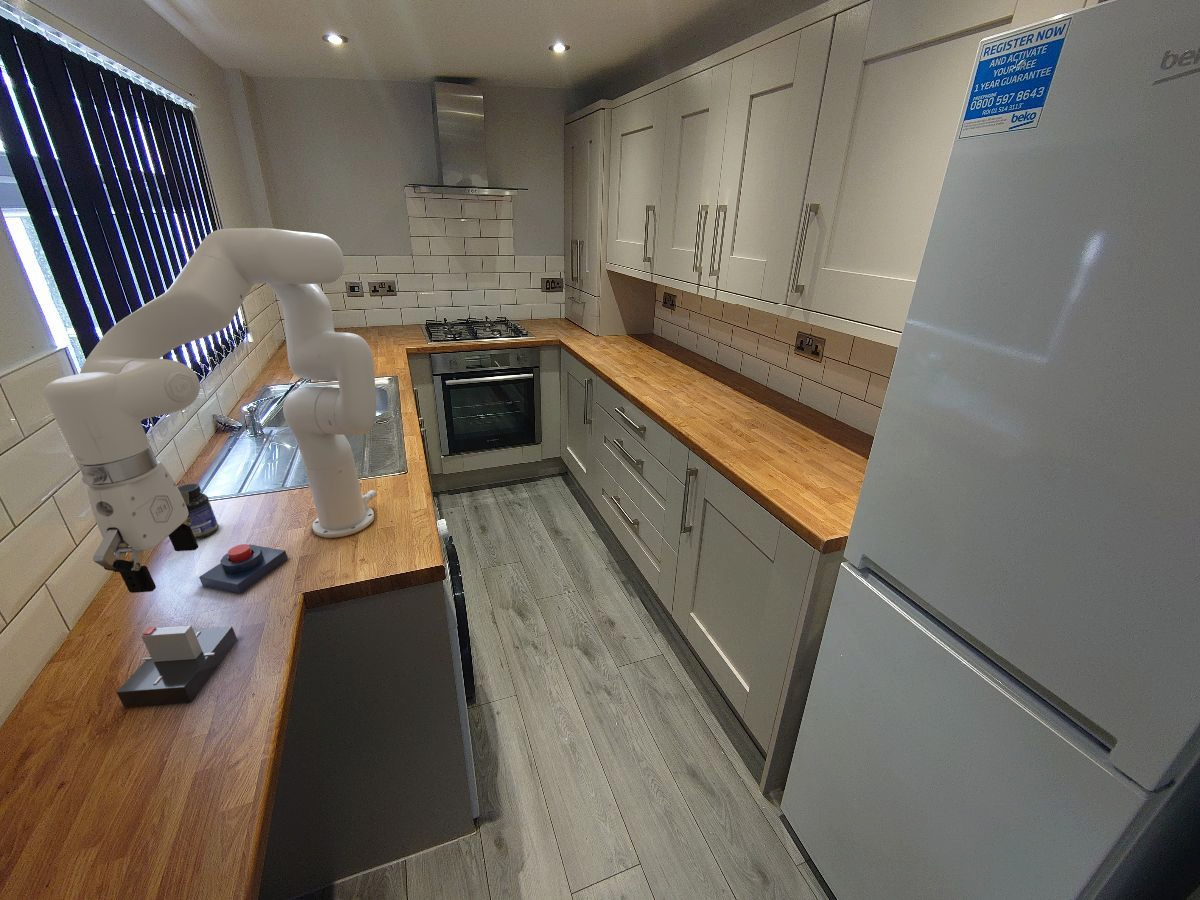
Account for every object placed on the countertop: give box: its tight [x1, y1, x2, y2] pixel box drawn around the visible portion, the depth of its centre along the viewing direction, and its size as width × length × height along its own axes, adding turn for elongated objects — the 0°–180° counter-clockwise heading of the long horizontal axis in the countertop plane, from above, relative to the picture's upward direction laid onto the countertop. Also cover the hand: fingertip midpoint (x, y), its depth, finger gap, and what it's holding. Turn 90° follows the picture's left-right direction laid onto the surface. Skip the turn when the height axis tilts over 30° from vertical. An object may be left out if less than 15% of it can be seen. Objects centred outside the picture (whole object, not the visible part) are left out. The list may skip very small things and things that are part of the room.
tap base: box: [116, 625, 238, 709], centre depth 79 cm, size 12×10×3 cm
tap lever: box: [140, 625, 202, 662], centre depth 77 cm, size 6×2×5 cm, turn 95°
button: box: [227, 543, 252, 562], centre depth 100 cm, size 4×4×2 cm
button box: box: [198, 543, 289, 595], centre depth 101 cm, size 11×9×4 cm
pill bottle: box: [177, 483, 220, 540], centre depth 113 cm, size 6×6×11 cm
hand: (166, 569), depth 77 cm, fingers open, 9 cm apart
